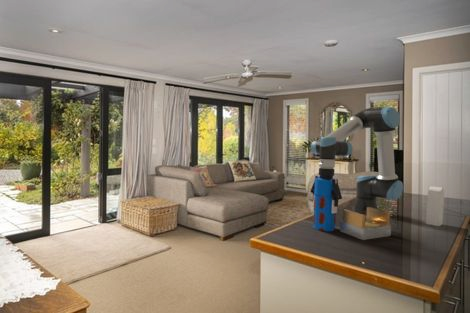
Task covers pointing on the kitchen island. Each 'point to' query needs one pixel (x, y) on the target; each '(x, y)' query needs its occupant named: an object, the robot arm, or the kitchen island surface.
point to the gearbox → (366, 224)
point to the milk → (435, 205)
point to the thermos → (323, 206)
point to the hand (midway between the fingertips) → (324, 210)
